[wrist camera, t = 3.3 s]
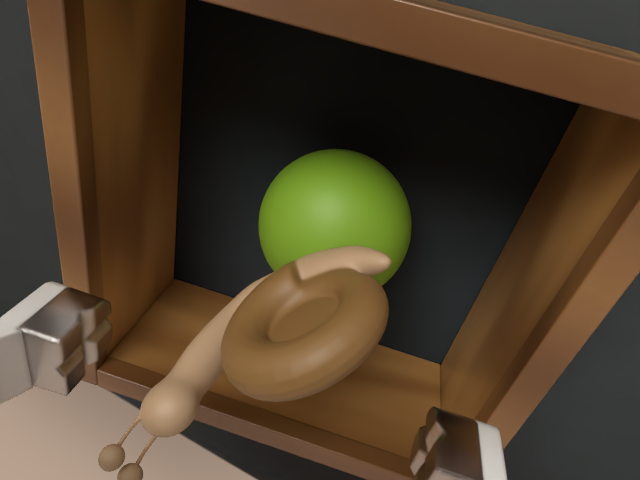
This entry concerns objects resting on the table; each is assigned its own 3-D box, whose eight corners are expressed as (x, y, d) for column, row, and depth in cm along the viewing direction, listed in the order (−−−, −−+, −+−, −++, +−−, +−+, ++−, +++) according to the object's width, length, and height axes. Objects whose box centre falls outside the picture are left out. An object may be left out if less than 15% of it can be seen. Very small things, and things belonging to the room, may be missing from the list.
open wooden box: (164, -75, 15) (10, -104, 9) (641, 49, 14) (775, 97, 8) (157, 286, 23) (74, 378, 18) (451, 381, 22) (457, 511, 17)
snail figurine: (241, 170, 19) (17, 394, 9) (380, 105, 16) (291, 318, 6) (301, 271, 21) (176, 549, 11) (435, 228, 18) (433, 541, 8)
